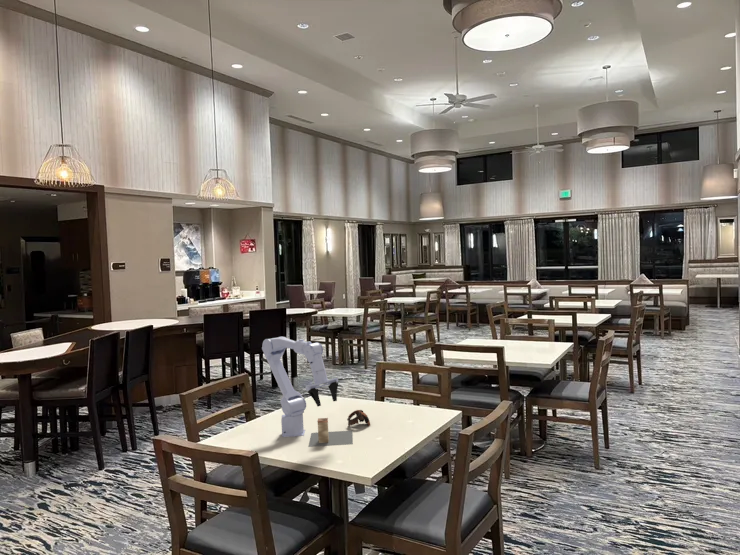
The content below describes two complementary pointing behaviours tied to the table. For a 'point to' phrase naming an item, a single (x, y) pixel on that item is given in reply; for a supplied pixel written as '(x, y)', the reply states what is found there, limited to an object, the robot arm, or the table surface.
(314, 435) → the charcoal mat
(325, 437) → the maple block
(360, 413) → the brown curved piece
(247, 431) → the table surface
